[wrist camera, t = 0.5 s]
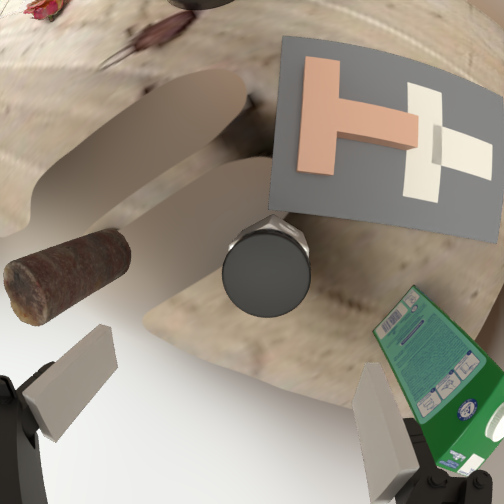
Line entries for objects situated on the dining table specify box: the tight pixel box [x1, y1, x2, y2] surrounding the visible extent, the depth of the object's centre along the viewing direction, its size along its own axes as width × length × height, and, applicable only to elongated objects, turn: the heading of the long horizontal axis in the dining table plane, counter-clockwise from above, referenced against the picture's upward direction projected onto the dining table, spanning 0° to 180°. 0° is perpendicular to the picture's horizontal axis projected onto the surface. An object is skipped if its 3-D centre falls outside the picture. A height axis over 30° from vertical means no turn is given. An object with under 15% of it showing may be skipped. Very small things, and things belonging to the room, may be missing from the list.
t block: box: [296, 56, 419, 176], centre depth 31 cm, size 14×14×4 cm
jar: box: [222, 214, 311, 318], centre depth 32 cm, size 9×8×12 cm
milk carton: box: [373, 285, 504, 477], centre depth 26 cm, size 9×9×25 cm
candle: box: [3, 229, 131, 326], centre depth 31 cm, size 8×7×20 cm
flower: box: [24, 0, 68, 22], centre depth 29 cm, size 10×9×8 cm
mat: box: [268, 36, 504, 244], centre depth 32 cm, size 24×36×1 cm, turn 85°
